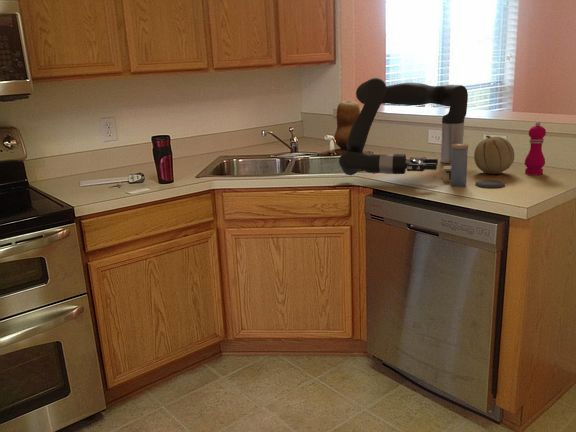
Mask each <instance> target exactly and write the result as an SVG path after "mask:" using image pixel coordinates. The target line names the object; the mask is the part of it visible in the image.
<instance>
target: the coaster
mask: <svg viewBox="0 0 576 432" xmlns="http://www.w3.org/2000/svg"><path fill="white" fill-rule="evenodd" d="M505 185H506V183H505V182H504V181H500V180H491V179H490V180H487V179H486V180H483V179H482V180H478V181H475V186H476V187H479V188H483V189H501V188H504V187H505Z"/></svg>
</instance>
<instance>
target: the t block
mask: <svg viewBox="0 0 576 432" xmlns="http://www.w3.org/2000/svg"><path fill="white" fill-rule="evenodd" d="M442 171H443V172H442V173H443V175H442V177H443V178H442V181H443V182H446V183H447V182H449V183H450V182H451V165H443V169H442Z"/></svg>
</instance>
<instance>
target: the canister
mask: <svg viewBox="0 0 576 432" xmlns="http://www.w3.org/2000/svg"><path fill="white" fill-rule="evenodd" d="M451 148H452V156H451V163H450V164H451V165H450V166H451V182H449V183H450V184H449V185H450V186H451V187H457V188H461V187H466V186H467V175H468V173H467V172H468V153H469V151H468V150H469V144H468V143H463V144H452V145H451Z"/></svg>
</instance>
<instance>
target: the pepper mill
mask: <svg viewBox="0 0 576 432" xmlns="http://www.w3.org/2000/svg"><path fill="white" fill-rule="evenodd" d="M546 135H547V130H546V128H545V127H544V126H542V125H541V121H536V122H535V125H533V126H532V127H530V129H529V130H528V136H529V137H530V138H529V143H530V149H529V151H528V153H527V155H526V156H525V159H524V165H525V166H526V168H525V170H524V171H525V172H524V174H525V175H528V176H541V175H543V174H544V169H543V167H544V166H545V165H546V159H545V156H544V153H543V151H542V147H543V144H544V140H545V137H546Z"/></svg>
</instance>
